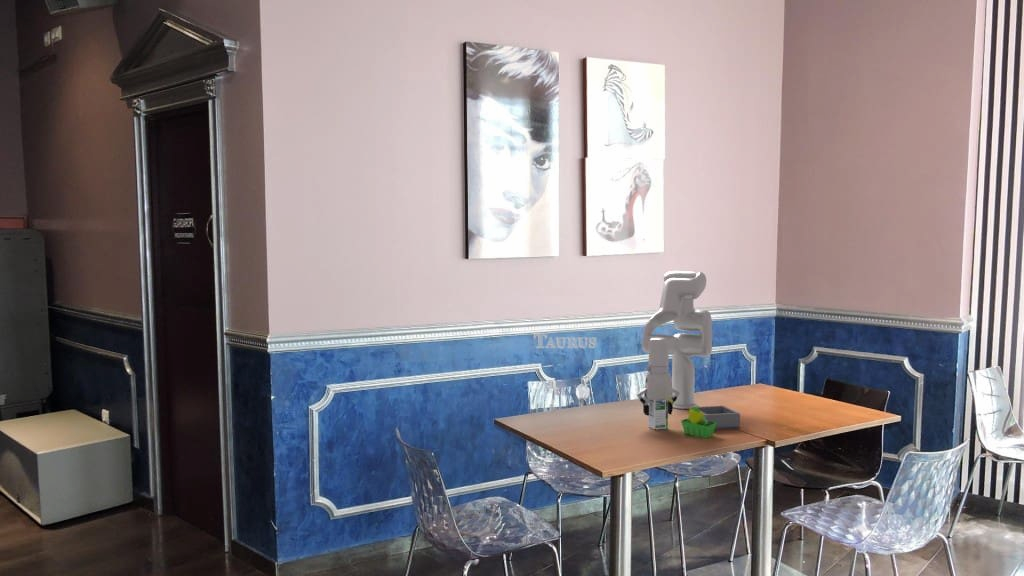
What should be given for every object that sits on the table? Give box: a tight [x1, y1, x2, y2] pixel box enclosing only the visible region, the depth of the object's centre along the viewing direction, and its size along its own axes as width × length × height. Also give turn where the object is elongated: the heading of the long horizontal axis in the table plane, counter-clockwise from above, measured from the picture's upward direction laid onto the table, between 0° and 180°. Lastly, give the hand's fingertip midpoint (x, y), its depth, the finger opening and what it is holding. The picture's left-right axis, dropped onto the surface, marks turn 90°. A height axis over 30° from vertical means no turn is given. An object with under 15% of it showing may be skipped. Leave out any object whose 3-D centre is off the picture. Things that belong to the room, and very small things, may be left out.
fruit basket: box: [680, 406, 717, 439], centre depth 296 cm, size 11×9×11 cm
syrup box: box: [647, 399, 669, 430], centre depth 308 cm, size 6×6×14 cm
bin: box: [689, 405, 741, 431], centre depth 311 cm, size 14×14×6 cm
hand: (657, 414), depth 308 cm, fingers open, 8 cm apart
